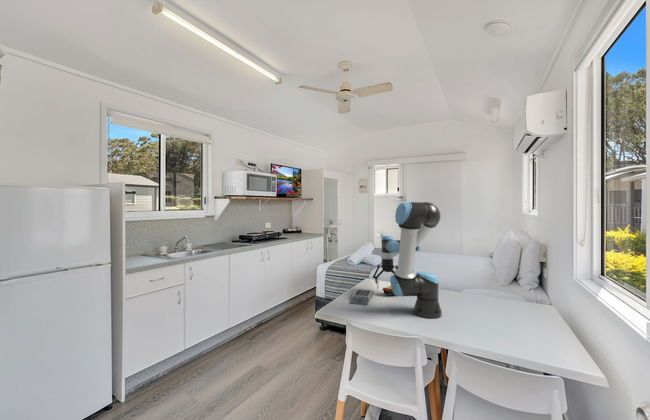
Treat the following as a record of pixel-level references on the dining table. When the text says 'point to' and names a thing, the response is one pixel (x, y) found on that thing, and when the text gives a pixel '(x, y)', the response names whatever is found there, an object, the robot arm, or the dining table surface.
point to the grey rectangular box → (361, 297)
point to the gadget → (388, 291)
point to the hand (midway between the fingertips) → (388, 289)
